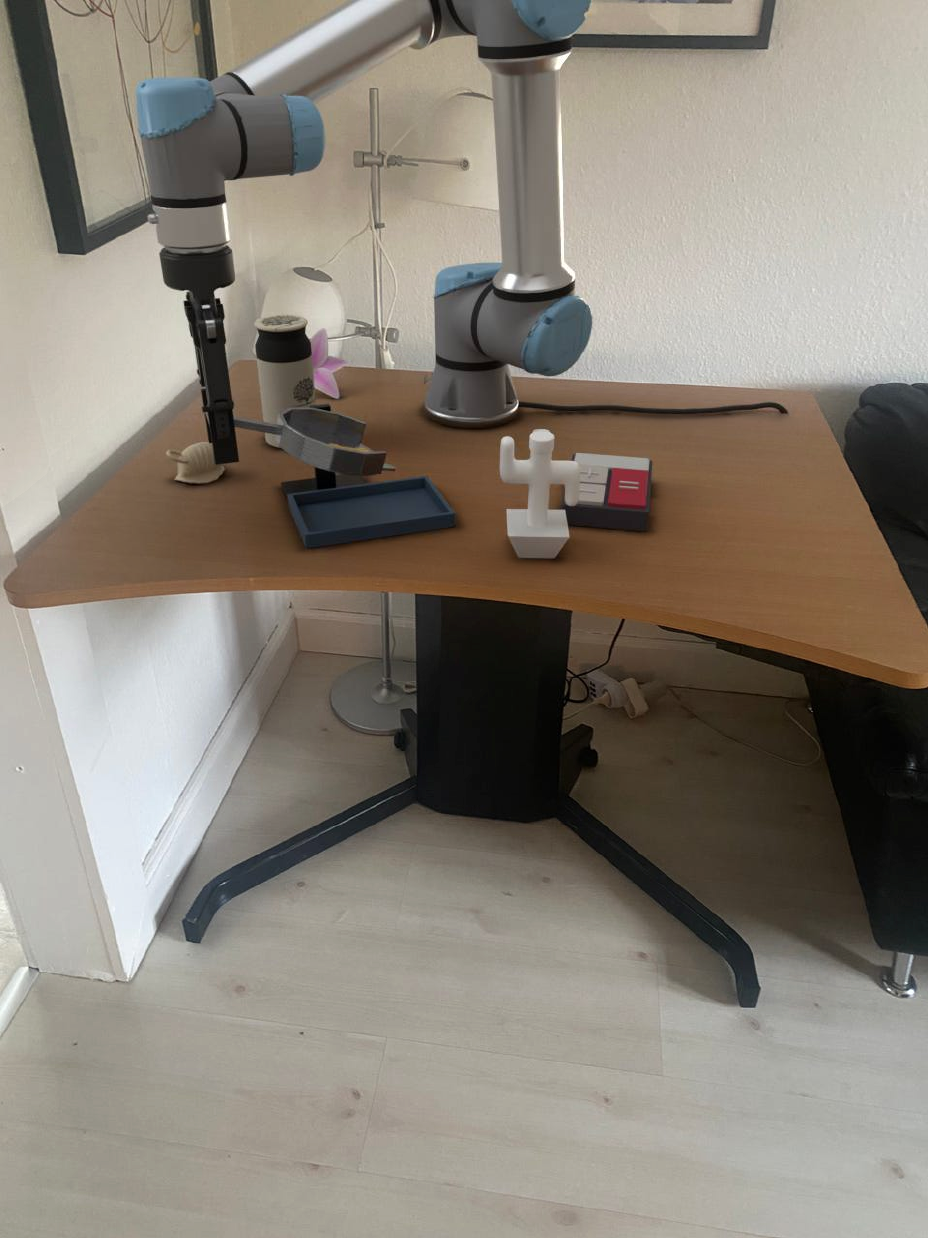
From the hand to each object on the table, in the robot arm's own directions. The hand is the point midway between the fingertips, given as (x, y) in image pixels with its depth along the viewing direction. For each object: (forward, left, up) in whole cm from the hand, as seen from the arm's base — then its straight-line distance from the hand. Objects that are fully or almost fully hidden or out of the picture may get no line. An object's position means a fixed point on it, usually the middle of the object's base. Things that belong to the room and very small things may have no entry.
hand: (223, 450), depth 113 cm
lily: (-19, -49, -11) cm, 54 cm away
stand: (-13, -10, -11) cm, 20 cm away
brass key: (-15, -1, -2) cm, 15 cm away
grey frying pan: (-9, 0, -1) cm, 9 cm away
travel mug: (-12, -29, -11) cm, 34 cm away
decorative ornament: (+3, -19, -11) cm, 22 cm away
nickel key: (-18, +4, -3) cm, 18 cm away
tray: (-17, 0, -11) cm, 21 cm away
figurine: (-34, +15, -11) cm, 39 cm away
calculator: (-48, +6, -11) cm, 50 cm away
